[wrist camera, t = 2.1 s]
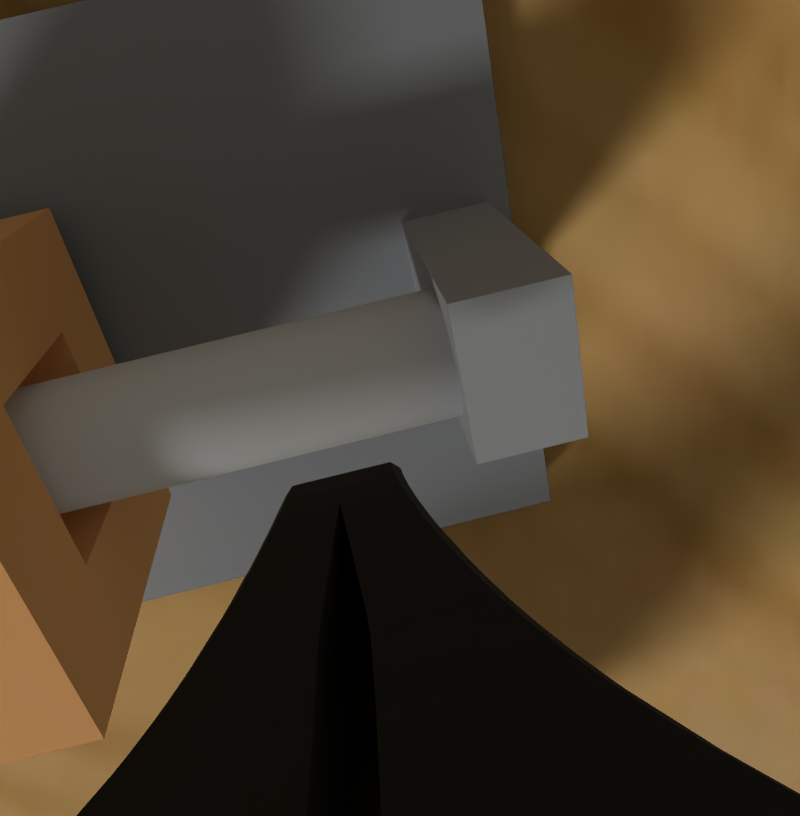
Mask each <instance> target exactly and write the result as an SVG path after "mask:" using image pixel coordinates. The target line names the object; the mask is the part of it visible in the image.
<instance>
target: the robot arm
mask: <svg viewBox="0 0 800 816" xmlns="http://www.w3.org/2000/svg"><path fill="white" fill-rule="evenodd" d="M77 816H800V794H799V793H797V792H796V791H794V790H792V789H790V788H788V787H787V786H785V785H783V784H781V783H779V782H778V781H776V780H774V779H772V778H771V777H769V776H767V775H765V774H763V773H762V772H760V771H758V770H756V769H755V768H753V767H751V766H749V765H747V764H746V763H744V762H742V761H740V760H739V759H737V758H735V757H733V756H731V755H730V754H728V753H726V752H724V751H723V750H721V749H719V748H718V747H716V746H715V745H713V744H711V743H710V742H708V741H707V740H705V739H704V738H702V737H700V736H699V735H697V734H696V733H694V732H692V731H691V730H689V729H688V728H686V727H685V726H683V725H681V724H680V723H678V722H677V721H675V720H674V719H672V718H670V717H669V716H667V715H666V714H664V713H662V712H661V711H659V710H658V709H656V708H655V707H653V706H651V705H650V704H648V703H647V702H645V701H643V700H642V699H640V698H639V697H637V696H636V695H634V694H632V693H631V692H629V691H628V690H626V689H625V688H623V687H622V686H620V685H619V684H617V683H616V682H615V681H613V680H612V679H610V678H609V677H608V676H606V675H605V674H603V673H602V672H601V671H599V670H598V669H597V668H595V667H594V666H592V665H591V664H590V663H588V662H587V661H586V660H584V659H583V658H581V657H580V656H579V655H577V654H576V653H575V652H573V651H572V650H571V649H569V648H568V647H567V646H566V645H564V644H563V643H562V642H561V641H559V640H558V639H557V638H556V637H554V636H553V635H552V634H550V633H549V632H548V631H547V630H545V629H544V628H543V627H542V626H540V625H539V624H538V623H537V622H536V621H534V620H533V619H532V618H531V617H530V616H529V615H527V614H526V613H525V612H524V611H523V610H522V609H521V608H519V607H518V606H517V605H516V604H515V603H514V602H513V601H511V600H510V599H509V598H508V597H507V596H506V595H505V594H504V593H503V592H502V591H501V590H500V589H499V588H498V587H496V586H495V585H494V584H493V583H492V582H491V581H490V580H489V579H488V578H487V577H486V576H485V575H484V574H483V573H482V572H481V571H480V570H479V569H478V568H477V567H476V566H475V565H474V564H473V563H472V562H471V561H470V560H469V559H468V558H467V557H466V556H465V555H464V554H463V553H462V551H461V550H460V549H459V548H458V547H457V546H456V545H455V544H454V543H453V541H452V540H451V539H450V538H449V537H448V536H447V535H446V534H445V533H444V531H443V530H442V529H441V528H440V527H439V526H438V524H437V523H436V522H435V521H434V520H433V518H432V517H431V516H430V515H429V513H428V512H427V511H426V509H425V508H424V507H423V505H422V504H421V503H420V501H419V500H418V498H417V497H416V496H415V494H414V493H413V491H412V490H411V488H410V486H409V485H408V483H407V481H406V479H405V477H404V475H403V473H402V470H401V468H400V467H398V466H396V465H395V464H393V463H391V462H388V463H384V464H380V465H376V466H371V467H367V468H363V469H359V470H355V471H351V472H347V473H343V474H339V475H335V476H331V477H327V478H323V479H318V480H314V481H310V482H306V483H302V484H298V485H294V486H292V487H291V489H290V490H289V492H288V493H287V495H286V497H285V499H284V501H283V503H282V505H281V507H280V509H279V511H278V513H277V515H276V518H275V520H274V522H273V524H272V526H271V528H270V530H269V532H268V534H267V536H266V538H265V540H264V542H263V544H262V546H261V548H260V550H259V552H258V554H257V556H256V558H255V560H254V562H253V563H252V565H251V567H250V569H249V571H248V573H247V574H246V576H245V578H244V580H243V582H242V583H241V585H240V587H239V589H238V591H237V593H236V594H235V596H234V598H233V600H232V602H231V604H230V605H229V607H228V609H227V610H226V612H225V614H224V616H223V617H222V619H221V620H220V622H219V624H218V625H217V627H216V628H215V630H214V632H213V633H212V635H211V636H210V638H209V640H208V641H207V643H206V644H205V646H204V648H203V649H202V651H201V652H200V654H199V656H198V657H197V659H196V660H195V662H194V664H193V665H192V667H191V668H190V670H189V671H188V673H187V674H186V676H185V677H184V679H183V680H182V682H181V683H180V685H179V686H178V688H177V689H176V691H175V692H174V694H173V695H172V696H171V698H170V699H169V701H168V702H167V704H166V705H165V706H164V708H163V709H162V711H161V712H160V713H159V715H158V716H157V718H156V719H155V720H154V722H153V723H152V724H151V726H150V727H149V728H148V730H147V731H146V732H145V734H144V735H143V736H142V737H141V739H140V740H139V741H138V743H137V744H136V745H135V747H134V748H133V749H132V751H131V752H130V753H129V754H128V756H127V757H126V758H125V759H124V761H123V762H122V763H121V764H120V766H119V767H118V768H117V769H116V771H115V772H114V773H113V774H112V775H111V777H110V778H109V779H108V780H107V781H106V782H105V784H104V785H103V786H102V787H101V788H100V789H99V790H98V792H97V793H96V794H95V795H94V796H93V797H92V799H91V800H90V801H89V802H88V803H87V804H86V805H85V807H84V808H83V809H82V810H81V811H80V812H79V814H78V815H77Z"/></svg>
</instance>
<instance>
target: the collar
mask: <svg viewBox="0 0 800 816" xmlns="http://www.w3.org/2000/svg"><path fill="white" fill-rule="evenodd" d="M111 365H115V361H114V359H113V357H112V354H111V352H110V350H109V347H108V345H107V342H106V340H105V338H104V335H103V333H102V331H101V328H100V326H99V324H98V321H97V319H96V317H95V314H94V312H93V310H92V307H91V305H90V302H89V300H88V298H87V295H86V293H85V291H84V288H83V286H82V284H81V281H80V279H79V277H78V274H77V272H76V270H75V267H74V265H73V262H72V260H71V258H70V255H69V253H68V251H67V248H66V246H65V244H64V241H63V239H62V237H61V234H60V232H59V230H58V227H57V225H56V222H55V220H54V218H53V215H52V213H51V211H50V208H46V209H42V210H38V211H33V212H29V213H25V214H21V215H16V216H12V217H8V218H4V219H0V765H1V764H5V763H9V762H13V761H17V760H21V759H25V758H29V757H33V756H37V755H41V754H45V753H49V752H53V751H57V750H61V749H65V748H69V747H73V746H77V745H81V744H85V743H89V742H93V741H97V740H101V739H104V737H105V733H106V730H107V726H108V722H109V719H110V715H111V711H112V708H113V704H114V701H115V697H116V693H117V690H118V686H119V683H120V679H121V675H122V672H123V668H124V665H125V661H126V657H127V654H128V650H129V646H130V643H131V639H132V636H133V632H134V628H135V625H136V621H137V618H138V614H139V610H140V607H141V603H142V600H143V596H144V592H145V589H146V585H147V581H148V578H149V574H150V571H151V567H152V563H153V560H154V556H155V553H156V549H157V545H158V542H159V538H160V534H161V531H162V527H163V524H164V520H165V516H166V513H167V509H168V506H169V502H170V498H171V493H170V491H169V488H164V489H160V490H156V491H152V492H148V493H144V494H140V495H135V496H131V497H127V498H123V499H119V500H115V501H111V502H107V503H103V504H99V505H95V506H90V507H86V508H82V509H78V510H74V511H70V512H66V513H62V514H59V512H58V510H57V508H56V507H55V505H54V503H53V501H52V499H51V497H50V495H49V493H48V491H47V489H46V487H45V485H44V483H43V481H42V480H41V478H40V476H39V474H38V472H37V470H36V468H35V466H34V464H33V462H32V460H31V458H30V456H29V454H28V452H27V451H26V449H25V447H24V445H23V443H22V441H21V439H20V437H19V435H18V433H17V431H16V429H15V427H14V425H13V424H12V422H11V420H10V418H9V416H8V414H7V412H6V410H5V408H4V406H3V405H4V404H5V402H6V401H7V400H8V399H9V397H10V396H11V395H12V394H13V392H14V391H15V390H16V389H17V388H20V387H24V386H28V385H32V384H37V383H41V382H45V381H49V380H53V379H57V378H61V377H66V376H70V375H74V374H78V373H82V372H86V371H90V370H95V369H99V368H103V367H107V366H111Z"/></svg>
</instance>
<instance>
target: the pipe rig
mask: <svg viewBox="0 0 800 816" xmlns="http://www.w3.org/2000/svg"><path fill="white" fill-rule="evenodd" d="M46 208H50V211H51V213H52V215H53V218H54V220H55V222H56V225H57V227H58V230H59V232H60V234H61V237H62V239H63V241H64V244H65V246H66V248H67V251H68V253H69V255H70V258H71V260H72V262H73V265H74V267H75V270H76V272H77V274H78V277H79V279H80V281H81V284H82V286H83V288H84V291H85V293H86V295H87V298H88V300H89V302H90V305H91V307H92V310H93V312H94V314H95V317H96V319H97V321H98V324H99V326H100V328H101V331H102V333H103V335H104V338H105V340H106V342H107V345H108V347H109V350H110V352H111V354H112V357H113V359H114V361H115V365H111V366H107V367H103V368H99V369H95V370H90V371H86V372H82V373H78V374H74V375H70V376H66V377H61V378H57V379H53V380H49V381H45V382H41V383H37V384H32V385H28V386H24V387H20V388H17V389H16V390H15V391H14V392H13V394H12V395H11V396H10V397H9V399H8V400H7V401H6V402H5V404H4V405H3V406H4V408H5V410H6V412H7V414H8V416H9V418H10V420H11V422H12V424H13V425H14V427H15V429H16V431H17V433H18V435H19V437H20V439H21V441H22V443H23V445H24V447H25V449H26V451H27V452H28V454H29V456H30V458H31V460H32V462H33V464H34V466H35V468H36V470H37V472H38V474H39V476H40V478H41V480H42V481H43V483H44V485H45V487H46V489H47V491H48V493H49V495H50V497H51V499H52V501H53V503H54V505H55V507H56V508H57V510H58V512H59V514H62V513H66V512H70V511H74V510H78V509H82V508H86V507H90V506H95V505H99V504H103V503H107V502H111V501H115V500H119V499H123V498H127V497H131V496H135V495H140V494H144V493H148V492H152V491H156V490H160V489H164V488H169V491H170V493H171V498H170V502H169V506H168V509H167V513H166V516H165V520H164V524H163V527H162V531H161V534H160V538H159V542H158V545H157V549H156V553H155V556H154V560H153V563H152V567H151V571H150V574H149V578H148V581H147V585H146V589H145V592H144V596H143V600H142V602H143V601H147V600H151V599H155V598H159V597H163V596H167V595H171V594H175V593H179V592H183V591H188V590H192V589H196V588H200V587H204V586H208V585H212V584H216V583H220V582H224V581H228V580H232V579H236V578H240V577H244V576H246V574H247V573H248V571H249V569H250V567H251V565H252V563H253V562H254V560H255V558H256V556H257V554H258V552H259V550H260V548H261V546H262V544H263V542H264V540H265V538H266V536H267V534H268V532H269V530H270V528H271V526H272V524H273V522H274V520H275V518H276V515H277V513H278V511H279V509H280V507H281V505H282V503H283V501H284V499H285V497H286V495H287V493H288V492H289V490H290V489H291V487H292V486H294V485H298V484H302V483H306V482H310V481H314V480H318V479H323V478H327V477H331V476H335V475H339V474H343V473H347V472H351V471H355V470H359V469H363V468H367V467H371V466H376V465H380V464H384V463H388V462H391V463H393V464H395V465H396V466H398V467H400V468H401V470H402V473H403V475H404V477H405V479H406V481H407V483H408V485H409V486H410V488H411V490H412V491H413V493H414V494H415V496H416V497H417V498H418V500H419V501H420V503H421V504H422V505H423V507H424V508H425V509H426V511H427V512H428V513H429V515H430V516H431V517H432V518H433V520H434V521H435V522H436V523H437V524H438V526H439V527H440V528H443V527H447V526H451V525H455V524H459V523H463V522H467V521H471V520H475V519H479V518H483V517H487V516H491V515H495V514H500V513H504V512H508V511H512V510H516V509H520V508H524V507H528V506H532V505H536V504H540V503H544V502H548V501H550V493H549V486H548V479H547V472H546V464H545V457H544V450H543V448H547V447H551V446H555V445H559V444H563V443H567V442H571V441H575V440H579V439H583V438H587V437H589V436H588V427H587V417H586V407H585V397H584V388H583V378H582V368H581V358H580V349H579V339H578V329H577V319H576V310H575V300H574V290H573V280H572V274H571V273H570V272H569V271H568V270H566V269H565V268H564V267H563V266H562V265H561V264H559V263H558V262H557V261H556V260H555V259H554V258H552V257H551V256H550V255H549V254H548V253H547V252H545V251H544V250H543V249H542V248H541V247H540V246H539V245H537V244H536V243H535V242H534V241H533V240H532V239H530V238H529V237H528V236H527V235H526V234H525V233H523V232H522V231H521V230H520V229H519V228H518V227H516V226H515V225H514V224H513V223H512V216H511V208H510V201H509V194H508V186H507V179H506V172H505V164H504V157H503V150H502V142H501V135H500V128H499V121H498V113H497V106H496V99H495V91H494V84H493V77H492V69H491V62H490V55H489V47H488V40H487V33H486V26H485V18H484V11H483V4H482V0H83V1H79V2H74V3H70V4H66V5H62V6H57V7H53V8H49V9H44V10H40V11H36V12H32V13H27V14H23V15H19V16H14V17H10V18H6V19H2V20H0V219H4V218H8V217H12V216H16V215H21V214H25V213H29V212H33V211H38V210H42V209H46Z"/></svg>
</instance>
